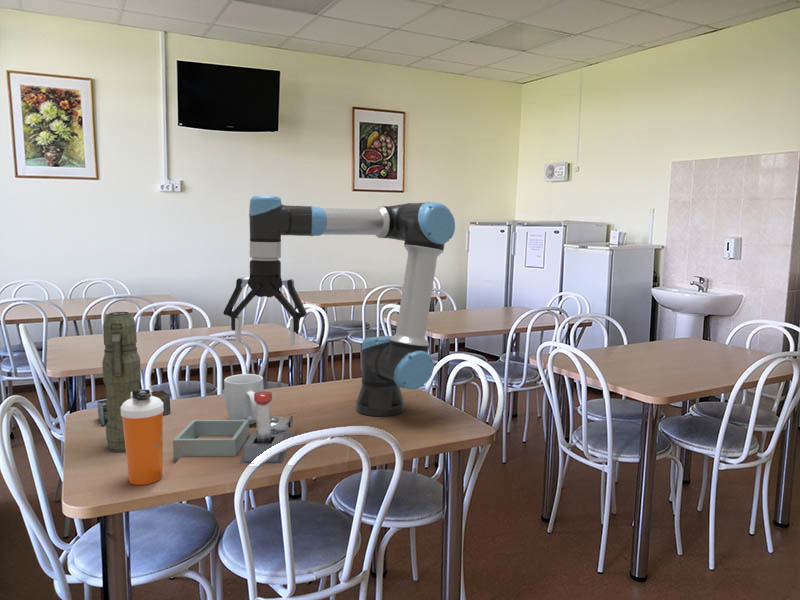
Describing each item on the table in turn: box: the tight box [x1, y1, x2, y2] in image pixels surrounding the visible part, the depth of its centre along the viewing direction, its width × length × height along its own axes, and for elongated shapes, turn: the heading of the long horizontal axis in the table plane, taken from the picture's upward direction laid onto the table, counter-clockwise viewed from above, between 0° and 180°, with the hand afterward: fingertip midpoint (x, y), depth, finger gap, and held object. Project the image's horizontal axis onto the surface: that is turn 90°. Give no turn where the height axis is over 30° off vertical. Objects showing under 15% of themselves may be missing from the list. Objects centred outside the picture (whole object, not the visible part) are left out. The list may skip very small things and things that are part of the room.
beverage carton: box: [97, 390, 171, 427], centre depth 178 cm, size 8×19×7 cm, turn 128°
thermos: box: [101, 311, 142, 453], centre depth 153 cm, size 9×12×35 cm
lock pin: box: [254, 390, 273, 444], centre depth 145 cm, size 4×4×16 cm
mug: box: [223, 373, 264, 426], centre depth 172 cm, size 15×11×13 cm
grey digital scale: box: [239, 415, 296, 464], centre depth 152 cm, size 22×10×7 cm, turn 1°
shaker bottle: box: [121, 389, 164, 486], centre depth 135 cm, size 9×9×20 cm
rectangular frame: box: [172, 419, 250, 463], centre depth 153 cm, size 15×15×6 cm
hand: (265, 344), depth 150 cm, fingers open, 13 cm apart
